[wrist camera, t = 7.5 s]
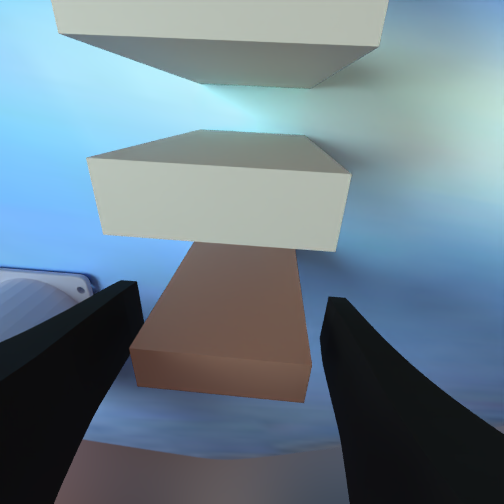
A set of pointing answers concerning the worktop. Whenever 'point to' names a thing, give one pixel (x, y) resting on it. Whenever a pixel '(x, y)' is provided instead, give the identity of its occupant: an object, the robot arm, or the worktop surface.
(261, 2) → the domino
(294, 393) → the domino
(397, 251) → the worktop surface
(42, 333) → the robot arm
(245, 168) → the domino
